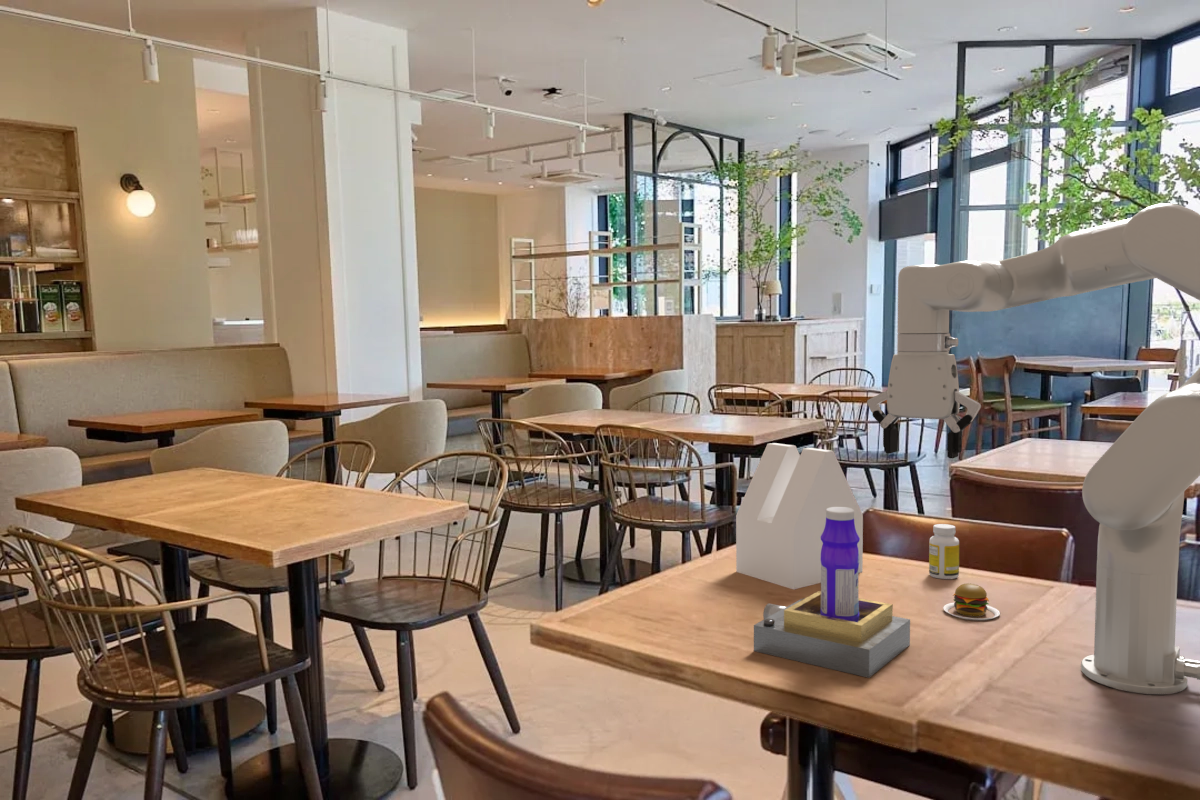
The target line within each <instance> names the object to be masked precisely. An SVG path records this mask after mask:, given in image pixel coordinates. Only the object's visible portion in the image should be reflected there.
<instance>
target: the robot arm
mask: <svg viewBox="0 0 1200 800" xmlns="http://www.w3.org/2000/svg"><path fill="white" fill-rule="evenodd" d="M1153 279H1157V280H1159V281H1161V282H1163V283H1164V284H1167V285H1169V286H1170V287H1173V288H1174V289H1176V290H1178V291H1180V292H1182V293H1185V295H1188V296H1191V297H1193V298H1194V299H1196V300H1198V301H1200V213H1198V212H1197V211H1195V210H1193V209H1190V208H1189V207H1185V206H1183V205H1180V204H1176V203H1168V202H1167V203H1158V204H1153V205H1150V206H1147V207H1145V208H1143V209H1142V210H1140V211H1138V212H1137V213H1136V214H1134V215H1133V216H1132V217H1130V218H1127V219H1122V220H1119V221H1115V222H1111V223H1106V224H1103V225H1098V226H1094V227H1090V228H1089V227H1088V228H1086V229H1081V230H1077V231H1073V232H1070V233H1067V234H1064V235H1063V236H1061V237H1060V238H1058V240H1056V241H1055V242H1054V243H1053V244H1051V245H1050V246H1048V247H1045V248H1043V249H1040V250H1037V251H1034V252H1033V251H1032V252H1030V253H1026V254H1023V255H1018V256H1013V257H1010V258H1005V259H1001V260H996V261H983V260H961V261H960V260H959V261H956V262H955V261H954V262H951V263H945V264H915V265H914V264H913V265H907V266H904V267H902V268H901V269H900V271H899V272H898V276H897V345H896V346H897V350H896V351H897V353H896V354H895V353H894V354H893V356H892V359H891V363H890V368H889V375H888V382H887V390H885V391H883V392H880V393H879V394H877V395H874V396H873V397H870V398H869V399H867V401H866V404H867V406H868V408H869V410H870V411H871V413H872V417H873V419H875V420H876V421H877V422H878V423H879V425H880V428H881V429H883V430H882V431H883V434H882V438H883V439H882V440H883V441H882V446H883V448H885V454H886V455H887V454H888V455H889V454H893V453H896V452H897V450H898V428H897V427H896V426H895V424H896V423H897V422H898V420H900V418H904V419H923V420H924V419H925V420H928V419H929V420H943V421H944V423H945V424H946V425H947V426H948V428H949V430H950V431H948V433H947V454H946V455H947V458H948V459H954V458H957V457H959V454H960V453H962V450H963V449H962V444H963V441H962V439H963V438H962V437H963V434H962V433H963V431H964V430H965V429H966V428H967V427H969V426H970V424H972V422H974V420H975V419H976V417H977V414H978V413H979V411H980V410H981V408H982V405H981V403H980V402H978V401H976V400H974V399H972V398H971V397H968V396H967V395H965V394H963V393H961V392H960V387H959V376H958V367H957V361H956V356H955V354H953V353H952V354H951V353H949V352H950V351H951V348H953V347H958V346H959V338H958V337H952V336H951V333H950V311H954V312H964V313H967V312H968V313H976V312H983V313H984V312H987V313H989V312H994V311H1001V310H1006V309H1011V308H1017V307H1020V306H1026V305H1030V304H1035V303H1039V302H1044V301H1048V300H1052V299H1058V298H1063V297H1073V296H1077V295H1080V294H1086V293H1090V292H1094V291H1100V290H1105V289H1109V288H1111V287H1112V288H1113V287H1117V286H1122V285H1128V284H1131V283H1136V282H1137V283H1138V282H1144V281H1149V280H1153ZM885 401H886V410H887V415H886V413H885V412H884V411H883V410H882V408H881V406H880V405H881V403H883V402H885ZM960 405H962V406H964V407H966V408H967V410H966V412H965V415H964V416H963V417H961V418H960V417H958V414H959V413H960V407H961V406H960ZM1199 477H1200V367H1198V369H1197V370H1196V371H1194V373H1193V374H1192V375H1191V376H1190V377H1189V378H1188V379H1187V380H1186V381H1185V382H1184V383H1183V384H1182V385H1181V386H1180V387H1178V388H1176V389H1174V390H1173V391H1169V392H1168V393H1165V394H1163V395H1161V396H1159V397H1158V398H1156V399H1155V400H1154V401H1152V402H1151V403H1150V404H1149V405H1148V406H1147V407H1145V409H1144V410H1143V411H1142V412H1141V413H1140V414H1139V415H1138V416H1137V417H1136V418H1135V419H1134V420H1133V422H1131V424H1130V425H1129V426H1128V427H1127V428H1126V429H1125V430H1124V431H1123V433H1121V434H1120V436H1119V437H1117V439H1116V440H1115V441H1114V442H1113V443H1112V444H1111V446H1109V448H1108V449H1106V451H1105V452H1104V453H1103V454H1102V455H1101V457H1100V458H1098V459H1097V461H1096V462H1095V463H1094V464H1093V466H1091V468H1090V469H1089V471H1088V472H1087V473H1086V475H1085V477H1084V480H1083V483H1082V486H1081V487H1082V489H1081V490H1082V491H1081V494H1082V500H1083V504H1084V507H1085V509H1086V510H1087V512H1088V514H1089V515H1091V517H1092V518H1093V519H1094V520H1095V521H1096V522H1098V523H1099V526H1098V536H1097V547H1096V548H1097V551H1096V555H1097V556H1096V573H1095V575H1096V581H1095V584H1096V585H1095V609H1094V610H1095V611H1094V616H1095V617H1094V647H1093V648H1094V650H1093V653H1094V654H1090V655H1087V656H1085V657H1084V658H1082V660H1081V664H1080V665H1081V666H1080V669H1081V672H1082V673H1083V674H1084V675H1085V676H1086V677H1087V678H1089V679H1090V680H1092V681H1094V682H1096V683H1098V684H1100V685H1104V686H1106V687H1110V688H1111V689H1112V688H1113V689H1116V690H1121V691H1125V692H1130V693H1134V694H1135V693H1136V694H1145V695H1170V694H1176V693H1180V692H1181V691H1184V690H1185V689H1186V688H1188V678H1192V679H1196V680H1198V681H1200V660H1196V659H1189V658H1185V656H1183V655H1180V649H1181V647H1180V646H1179V645H1178V646H1177V645H1176V629H1177V628H1176V627H1177V626H1176V623H1177V594H1178V571H1179V557H1180V539H1181V529H1182V528H1181V526H1182V518H1183V513H1184V511H1183V510H1184V501H1185V491H1186V490H1187V489H1188V488H1189V487H1190V486H1191V485H1192V484H1194V482H1195V481H1196V480H1197V479H1198V478H1199Z"/></svg>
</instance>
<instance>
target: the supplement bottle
mask: <svg viewBox="0 0 1200 800" xmlns="http://www.w3.org/2000/svg"><path fill="white" fill-rule="evenodd" d="M932 527H933V529H932V530H933V531H932V533H933V534H934V535H932V536H931V537H930V538H929V543H928V545H929V547H928V548H929V549H928V550H929V551H928V556H929V557H928V560H929V561H928V572H929V573H928V574H929V575H930V576H931V577H932V578H935V579H941V580H954V579H957V578H959V575H960V540H959V538H958V537H956V536H955V535H956V526H955V525H953V524H947V523H946V524H945V523H938V524H934V525H933V526H932Z"/></svg>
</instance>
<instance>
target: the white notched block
mask: <svg viewBox="0 0 1200 800" xmlns="http://www.w3.org/2000/svg"><path fill="white" fill-rule="evenodd" d="M831 507H847V508H851V509H853V510H854V524H855V529H856V532H857V534H858V536H859V538H860V540H859V542H858V544H857V546H858V550H859V568H858V574H861V573H863V565H864V564H863V561H864V560H863V558H864V557H863V554H864V553H863V552H864V551H863V548H864V547H863V545H864V543H863V542H864V541H863V539H864V538H863V536H864V535H863V532H864V530H863V529H864V514H863V513H862V510H861V508H860V506H859V503H858V502H857V500H856V497H855V495H854V493H853V491H852V489H851V486H850V484H849V482H848V480H847V478H846V476H845V474H844V471H843V469H842V467H841V465H840V462H839V461H838V459H837V456H836V454H835V452H834V450H831V449H821V448H816V447H806V448H805V447H803V448H802V450H801V452H799V450H798V448H797V446H796V445H794V444H785V443H777V442H772V443H767V444H766V447H765V449H764V451H763V453H762V455H761V457H760V460H759V461H758V465H757V467H756V469H755V471H754V474H753V476H752V478H751V480H750V482H749V484H748V487H747V489H746V492H745V495H744V497H743V498H742V501H741V503H740V505H739V507H738V510H737V512H736V515H735V520H736V521H735V522H736V523H735V527H736V528H735V534H736V535H735V539H736V540H735V542H736V543H735V545H736V546H735V548H736V549H735V551H736V553H735V555H736V556H735V557H736V561H735V562H736V563H735V565H736V568H735V569H736V573H739V574H743V575H746V576H748V577H752V578H755V579H759V580H762V581H764V582H768V583H771V584H774V585H778V586H781V587H784V588H787V589H791V590H797V589H801V588H805V587H808V586H813V585H816V584H817V585H818V584H821V549H822V545H823V542H822V540H821V535H822V533H823V531H824V528H825V524H826V509H827V508H831Z"/></svg>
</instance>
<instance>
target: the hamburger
mask: <svg viewBox="0 0 1200 800" xmlns="http://www.w3.org/2000/svg"><path fill="white" fill-rule="evenodd" d="M952 596H953V601H954V602H949V603H947V604H945V605H943V607H942V609H943V610H944V612H946V613H947V614H949V615H951V616H953V617H955V618H958V619H962V620H968V621H969V620H970V621H987V620H988V621H989V620H992V619H995V618H997V617H1000V616H1001V615H1000V614H1001V612H1000V611H999V609H997V608H996V607H994V606H991V605H990V603H989V602H990V600H989V598H988V596H987V592H986V589H985V588H984V587H983V586H981V585H978V584H975V583H969V582H968V583H963V584H960V585H958V586H957V587H956V589H955V592H954V593H953V595H952ZM952 608H954V609H955V611H956V613H958V614H959V615H956V614H953V613H952V612H949V610H950V609H952ZM987 611H989V612H991V613H992V614H994V616H993V617H986V618H979V617H981V616H985V614H986V613H987ZM977 617H978V618H977Z"/></svg>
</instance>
